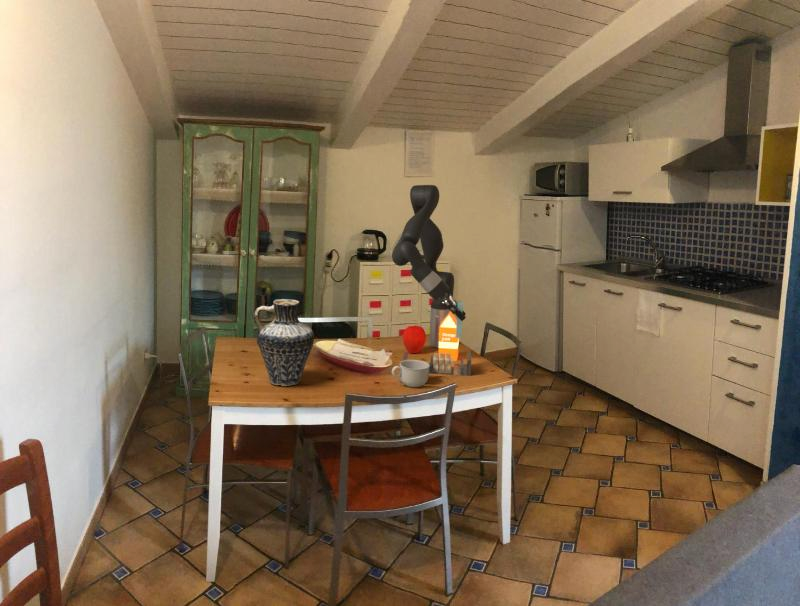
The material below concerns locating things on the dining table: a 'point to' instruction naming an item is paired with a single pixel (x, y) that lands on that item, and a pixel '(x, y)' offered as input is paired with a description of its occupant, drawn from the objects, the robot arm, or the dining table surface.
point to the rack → (455, 369)
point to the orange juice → (448, 337)
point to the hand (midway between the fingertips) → (463, 317)
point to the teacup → (412, 372)
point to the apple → (414, 338)
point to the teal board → (459, 322)
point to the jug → (284, 342)
